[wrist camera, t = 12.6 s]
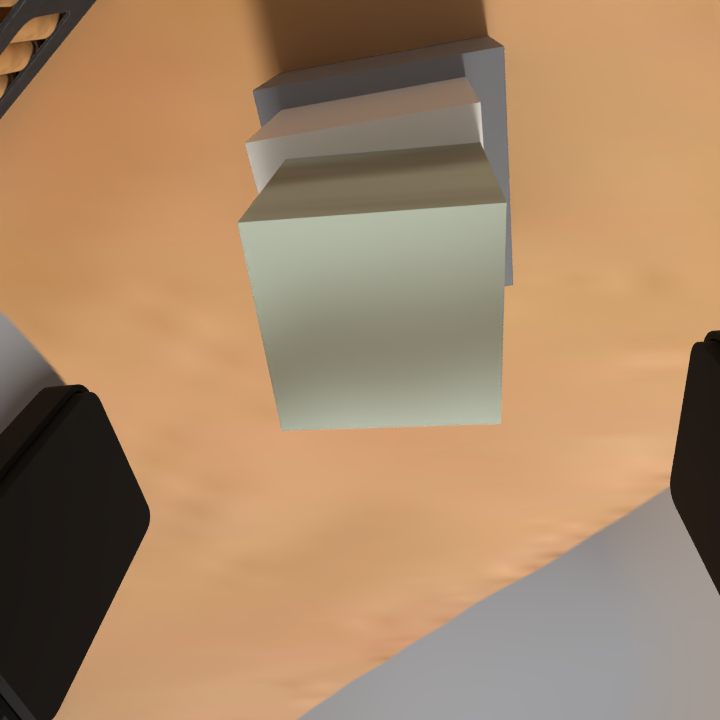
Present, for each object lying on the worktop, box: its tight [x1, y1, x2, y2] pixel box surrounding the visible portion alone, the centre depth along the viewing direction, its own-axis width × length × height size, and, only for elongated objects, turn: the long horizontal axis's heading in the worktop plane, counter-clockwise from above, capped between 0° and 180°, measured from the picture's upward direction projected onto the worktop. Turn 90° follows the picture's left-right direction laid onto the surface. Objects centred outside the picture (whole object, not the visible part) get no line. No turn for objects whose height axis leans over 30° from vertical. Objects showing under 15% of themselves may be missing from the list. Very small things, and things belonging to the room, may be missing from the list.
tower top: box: [245, 77, 484, 194], centre depth 19 cm, size 6×6×5 cm
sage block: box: [238, 142, 507, 431], centre depth 15 cm, size 5×5×5 cm
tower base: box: [253, 36, 513, 286], centre depth 23 cm, size 8×8×5 cm
